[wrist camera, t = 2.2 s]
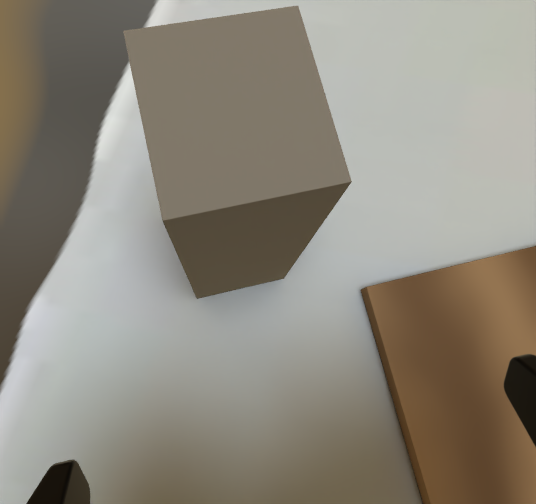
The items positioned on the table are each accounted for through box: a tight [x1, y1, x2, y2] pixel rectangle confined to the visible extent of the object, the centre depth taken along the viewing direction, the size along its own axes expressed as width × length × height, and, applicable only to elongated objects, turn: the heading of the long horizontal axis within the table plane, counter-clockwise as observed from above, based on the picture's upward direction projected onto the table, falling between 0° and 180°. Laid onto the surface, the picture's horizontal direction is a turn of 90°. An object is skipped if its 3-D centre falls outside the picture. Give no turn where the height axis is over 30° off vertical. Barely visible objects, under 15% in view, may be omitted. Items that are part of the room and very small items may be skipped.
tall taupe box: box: [123, 6, 352, 299], centre depth 17 cm, size 4×5×13 cm
